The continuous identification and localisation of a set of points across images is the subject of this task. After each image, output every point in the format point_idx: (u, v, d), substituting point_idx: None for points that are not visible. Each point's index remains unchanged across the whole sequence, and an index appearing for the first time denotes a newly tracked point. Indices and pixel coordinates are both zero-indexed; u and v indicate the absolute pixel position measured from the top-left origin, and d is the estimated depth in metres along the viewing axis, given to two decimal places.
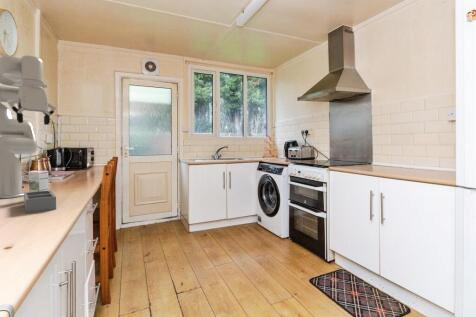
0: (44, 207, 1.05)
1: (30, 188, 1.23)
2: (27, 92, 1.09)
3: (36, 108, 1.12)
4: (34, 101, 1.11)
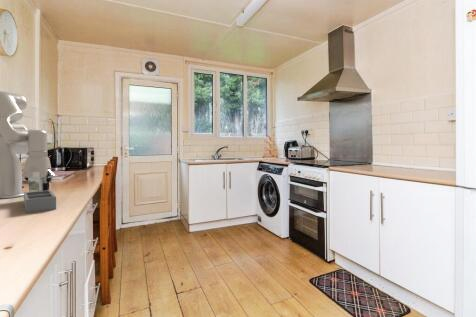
0: (44, 207, 1.05)
1: (30, 188, 1.23)
2: None
3: None
4: None
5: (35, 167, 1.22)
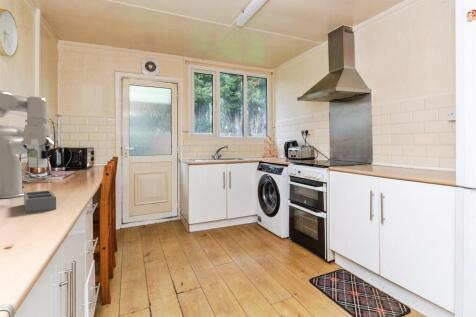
0: (44, 207, 1.05)
1: (28, 155, 1.22)
2: None
3: None
4: None
5: (34, 134, 1.22)
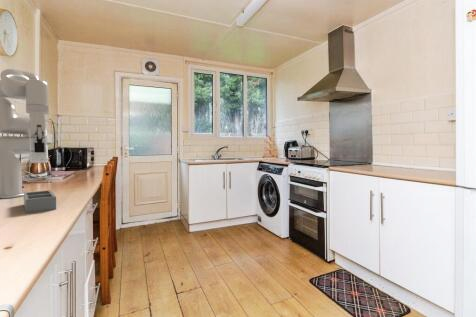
0: (44, 207, 1.05)
1: None
2: (45, 119, 1.06)
3: None
4: None
5: (29, 123, 1.04)
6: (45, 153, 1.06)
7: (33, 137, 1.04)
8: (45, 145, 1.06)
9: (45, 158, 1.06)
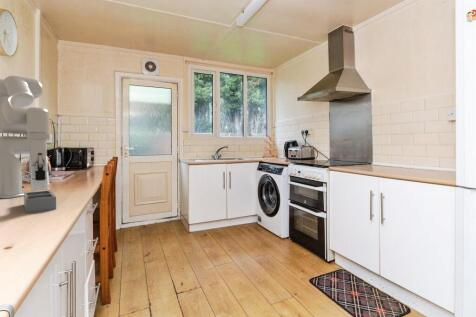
0: (44, 207, 1.05)
1: None
2: None
3: None
4: None
5: (30, 151, 1.05)
6: (46, 180, 1.07)
7: (34, 165, 1.04)
8: (46, 172, 1.06)
9: (46, 185, 1.07)
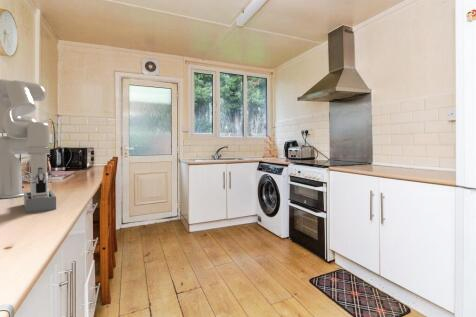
0: (44, 207, 1.05)
1: None
2: (46, 160, 1.07)
3: None
4: None
5: None
6: None
7: (34, 182, 1.05)
8: (46, 189, 1.07)
9: None
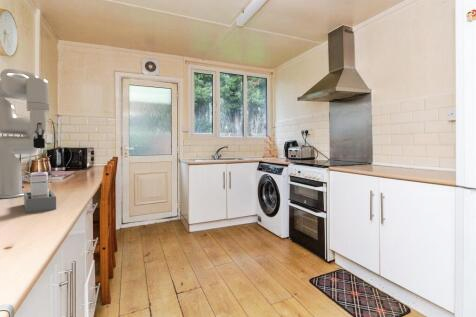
0: (44, 207, 1.05)
1: None
2: (45, 117, 1.07)
3: None
4: None
5: (30, 121, 1.05)
6: None
7: (34, 182, 1.05)
8: (46, 189, 1.07)
9: None
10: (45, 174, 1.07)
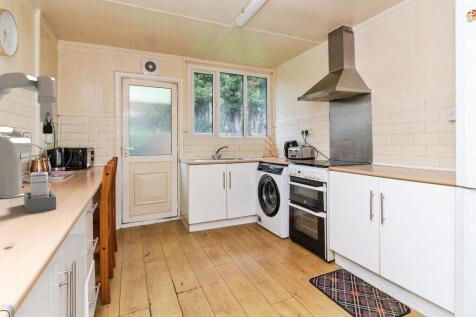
0: (44, 207, 1.05)
1: None
2: None
3: None
4: None
5: (40, 111, 1.28)
6: None
7: (34, 182, 1.05)
8: (46, 189, 1.07)
9: None
10: (45, 174, 1.07)
